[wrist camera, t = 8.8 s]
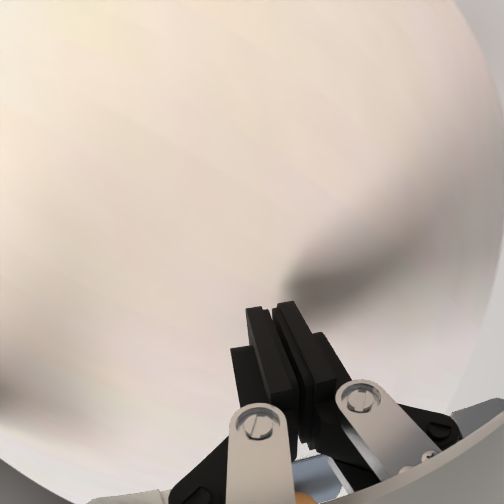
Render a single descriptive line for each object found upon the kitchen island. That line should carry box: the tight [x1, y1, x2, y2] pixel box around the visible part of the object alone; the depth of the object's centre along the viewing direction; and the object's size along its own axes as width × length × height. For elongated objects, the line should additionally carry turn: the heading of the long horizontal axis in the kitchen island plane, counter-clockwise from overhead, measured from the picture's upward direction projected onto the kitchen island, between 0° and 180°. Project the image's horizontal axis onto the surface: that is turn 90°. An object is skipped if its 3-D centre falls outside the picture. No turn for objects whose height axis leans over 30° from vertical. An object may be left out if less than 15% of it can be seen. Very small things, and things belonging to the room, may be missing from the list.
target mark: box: [291, 454, 342, 503], centre depth 19 cm, size 12×12×1 cm
